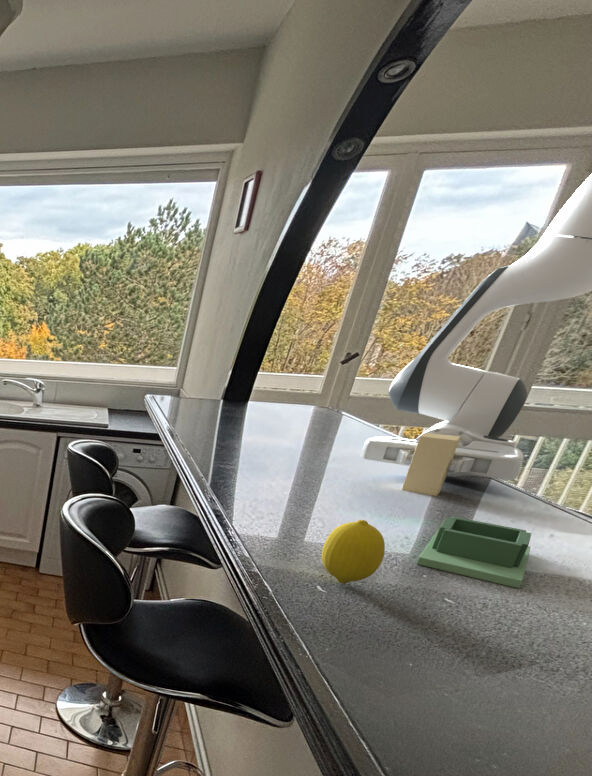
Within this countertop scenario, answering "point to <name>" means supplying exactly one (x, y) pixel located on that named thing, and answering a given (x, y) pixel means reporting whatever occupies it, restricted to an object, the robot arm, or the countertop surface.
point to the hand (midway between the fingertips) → (430, 463)
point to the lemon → (353, 551)
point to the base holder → (479, 551)
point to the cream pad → (430, 463)
